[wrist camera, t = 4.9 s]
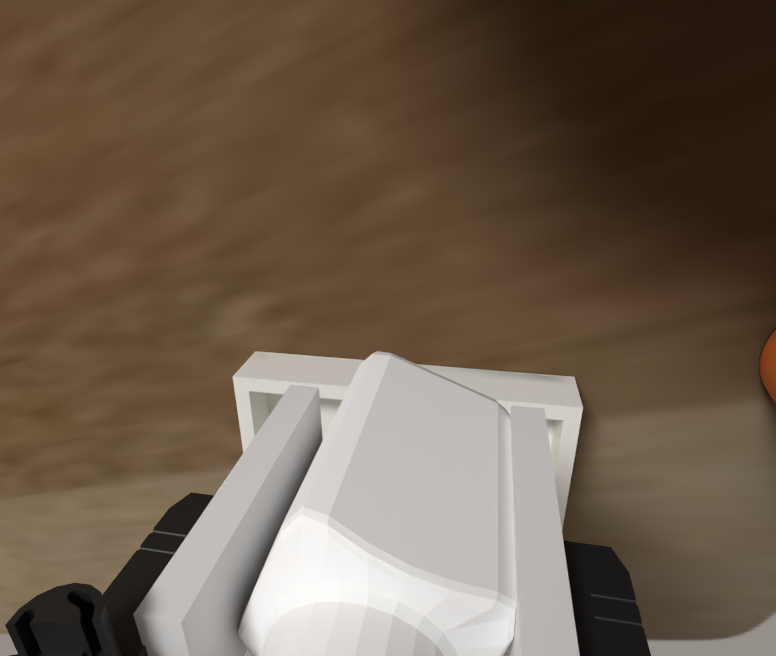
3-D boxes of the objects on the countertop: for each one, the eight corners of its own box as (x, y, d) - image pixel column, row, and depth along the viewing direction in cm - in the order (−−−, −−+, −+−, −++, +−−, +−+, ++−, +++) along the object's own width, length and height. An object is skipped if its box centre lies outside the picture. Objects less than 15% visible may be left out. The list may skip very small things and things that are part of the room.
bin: (255, 351, 31) (232, 376, 28) (574, 376, 28) (582, 407, 25) (276, 530, 36) (259, 566, 33) (544, 567, 33) (548, 609, 31)
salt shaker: (323, 448, 15) (100, 921, 7) (373, 334, 13) (152, 783, 5) (452, 506, 15) (395, 1053, 7) (519, 400, 13) (560, 964, 5)
